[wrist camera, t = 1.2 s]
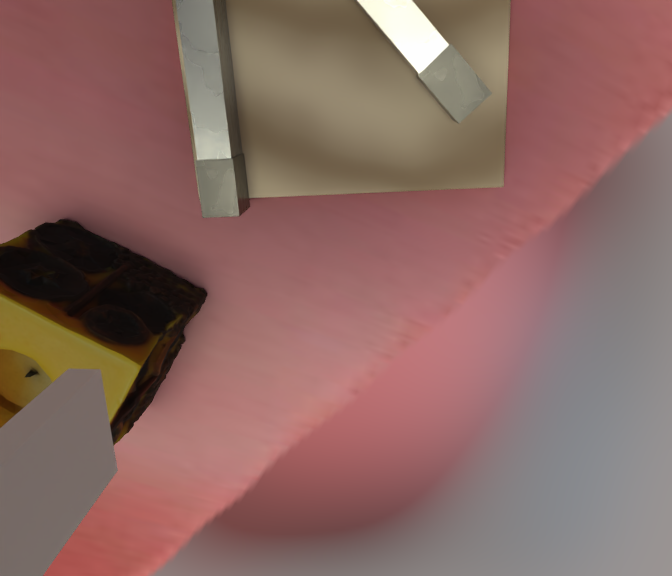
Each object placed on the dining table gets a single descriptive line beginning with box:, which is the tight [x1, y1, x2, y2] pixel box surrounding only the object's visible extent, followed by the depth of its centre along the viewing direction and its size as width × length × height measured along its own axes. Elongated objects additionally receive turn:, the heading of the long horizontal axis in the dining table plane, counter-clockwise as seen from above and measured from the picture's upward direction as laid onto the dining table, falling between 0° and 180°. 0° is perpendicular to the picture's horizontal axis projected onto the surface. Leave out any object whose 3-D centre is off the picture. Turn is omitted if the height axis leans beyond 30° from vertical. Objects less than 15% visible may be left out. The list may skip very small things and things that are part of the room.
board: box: [172, 0, 511, 200], centre depth 29 cm, size 19×17×1 cm
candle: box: [0, 219, 207, 446], centre depth 32 cm, size 10×10×10 cm
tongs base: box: [175, 0, 250, 218], centre depth 28 cm, size 18×5×3 cm, turn 3°
